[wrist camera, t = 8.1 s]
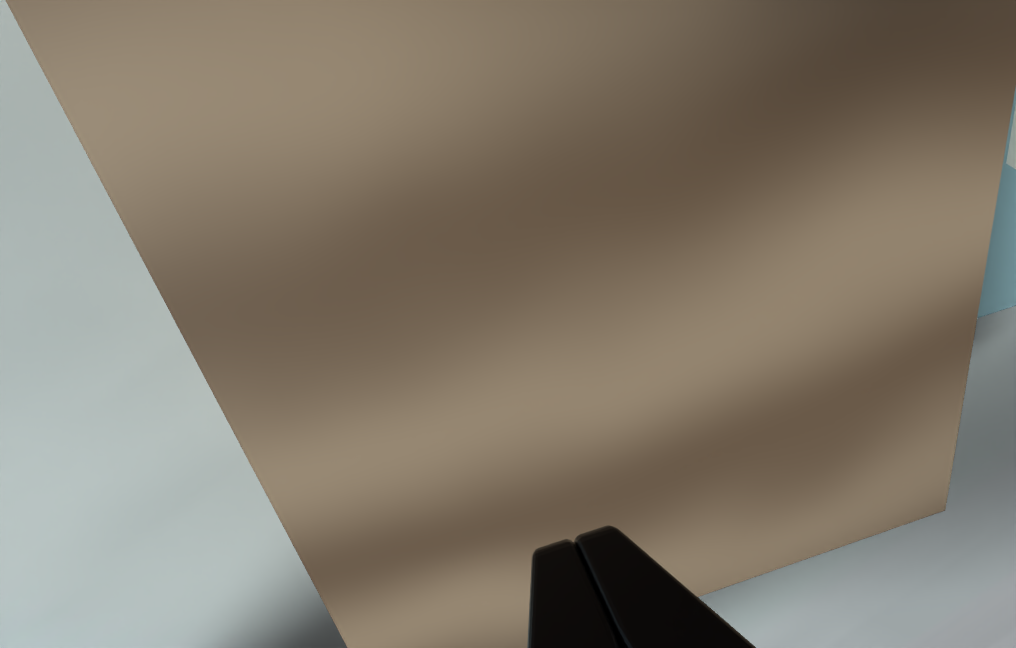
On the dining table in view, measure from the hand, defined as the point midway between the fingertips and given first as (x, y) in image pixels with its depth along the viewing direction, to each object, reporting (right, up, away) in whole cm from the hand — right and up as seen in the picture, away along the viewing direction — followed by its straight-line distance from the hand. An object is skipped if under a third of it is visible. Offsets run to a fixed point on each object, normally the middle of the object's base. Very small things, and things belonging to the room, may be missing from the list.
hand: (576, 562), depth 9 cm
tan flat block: (0, +7, +8) cm, 11 cm away
